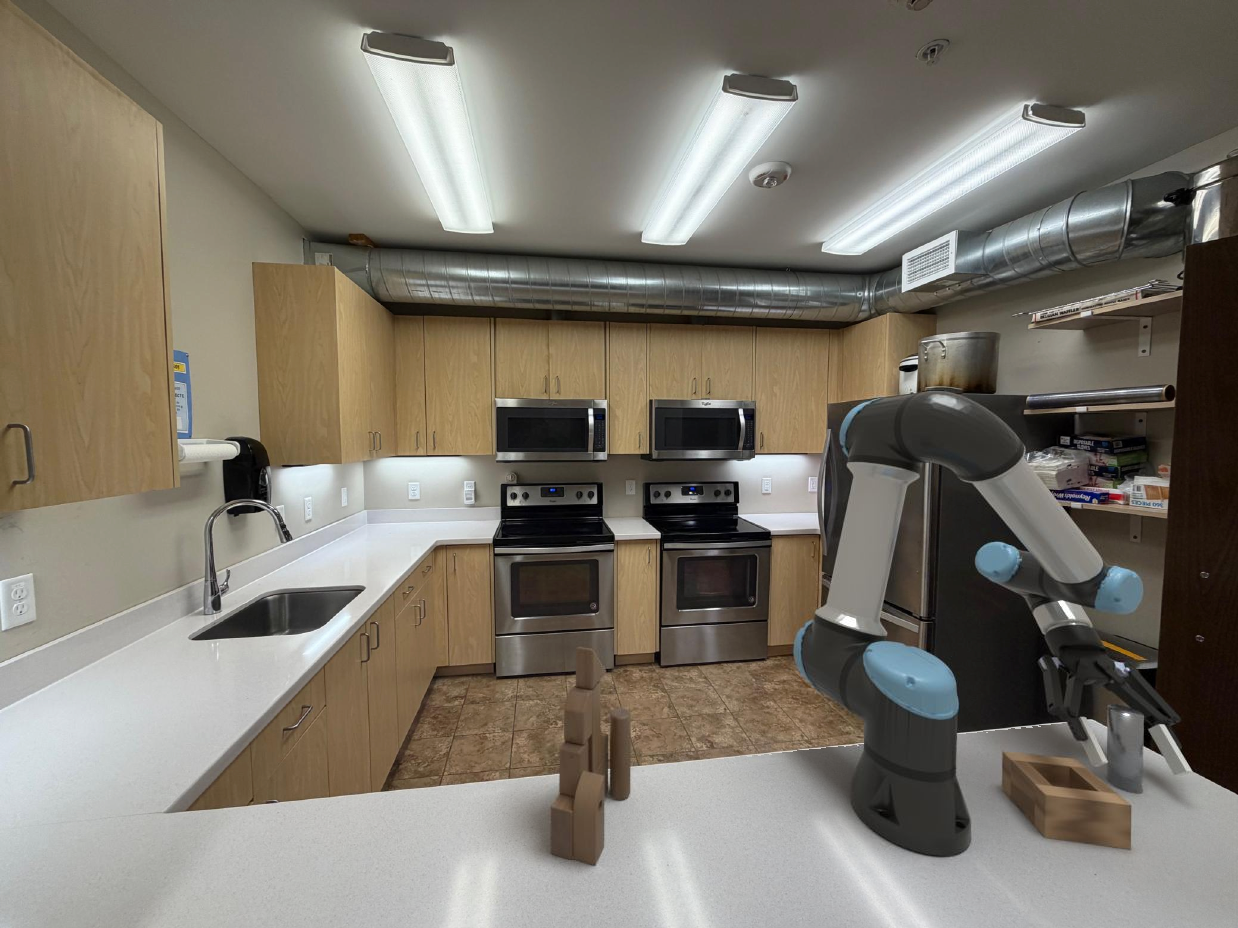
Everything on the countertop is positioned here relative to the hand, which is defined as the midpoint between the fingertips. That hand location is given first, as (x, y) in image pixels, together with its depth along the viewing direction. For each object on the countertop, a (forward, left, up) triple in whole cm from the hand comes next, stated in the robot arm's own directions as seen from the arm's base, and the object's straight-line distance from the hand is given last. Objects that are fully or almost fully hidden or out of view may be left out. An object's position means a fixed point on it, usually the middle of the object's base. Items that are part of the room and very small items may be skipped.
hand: (1141, 768), depth 74 cm
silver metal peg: (0, +3, -4) cm, 5 cm away
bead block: (-15, -7, -4) cm, 17 cm away
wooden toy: (-82, -21, -5) cm, 85 cm away
